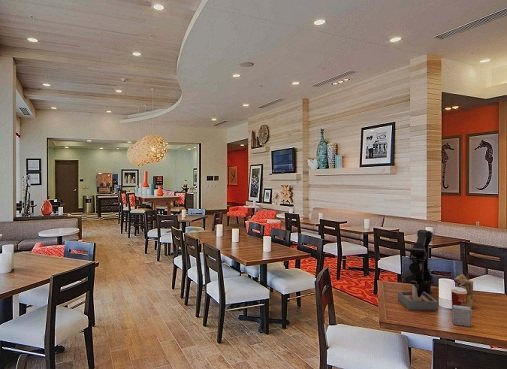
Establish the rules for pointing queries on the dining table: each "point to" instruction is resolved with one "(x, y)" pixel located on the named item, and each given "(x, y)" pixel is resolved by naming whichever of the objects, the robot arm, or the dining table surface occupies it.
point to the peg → (415, 294)
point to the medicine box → (461, 315)
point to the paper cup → (458, 296)
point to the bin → (418, 302)
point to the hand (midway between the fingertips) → (417, 295)
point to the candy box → (469, 288)
